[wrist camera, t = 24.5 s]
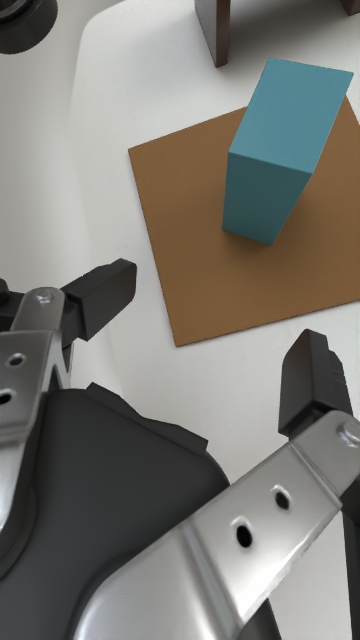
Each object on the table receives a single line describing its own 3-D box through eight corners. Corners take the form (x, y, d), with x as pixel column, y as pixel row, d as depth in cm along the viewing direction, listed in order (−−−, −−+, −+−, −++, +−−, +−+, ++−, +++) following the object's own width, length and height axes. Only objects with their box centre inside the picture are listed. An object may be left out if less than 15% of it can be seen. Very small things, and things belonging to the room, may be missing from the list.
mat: (129, 152, 23) (127, 148, 22) (334, 79, 21) (336, 73, 20) (176, 346, 20) (175, 346, 19) (425, 282, 18) (430, 281, 17)
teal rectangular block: (221, 229, 20) (227, 151, 12) (247, 170, 20) (269, 57, 12) (271, 246, 19) (313, 174, 11) (297, 183, 20) (354, 71, 12)
